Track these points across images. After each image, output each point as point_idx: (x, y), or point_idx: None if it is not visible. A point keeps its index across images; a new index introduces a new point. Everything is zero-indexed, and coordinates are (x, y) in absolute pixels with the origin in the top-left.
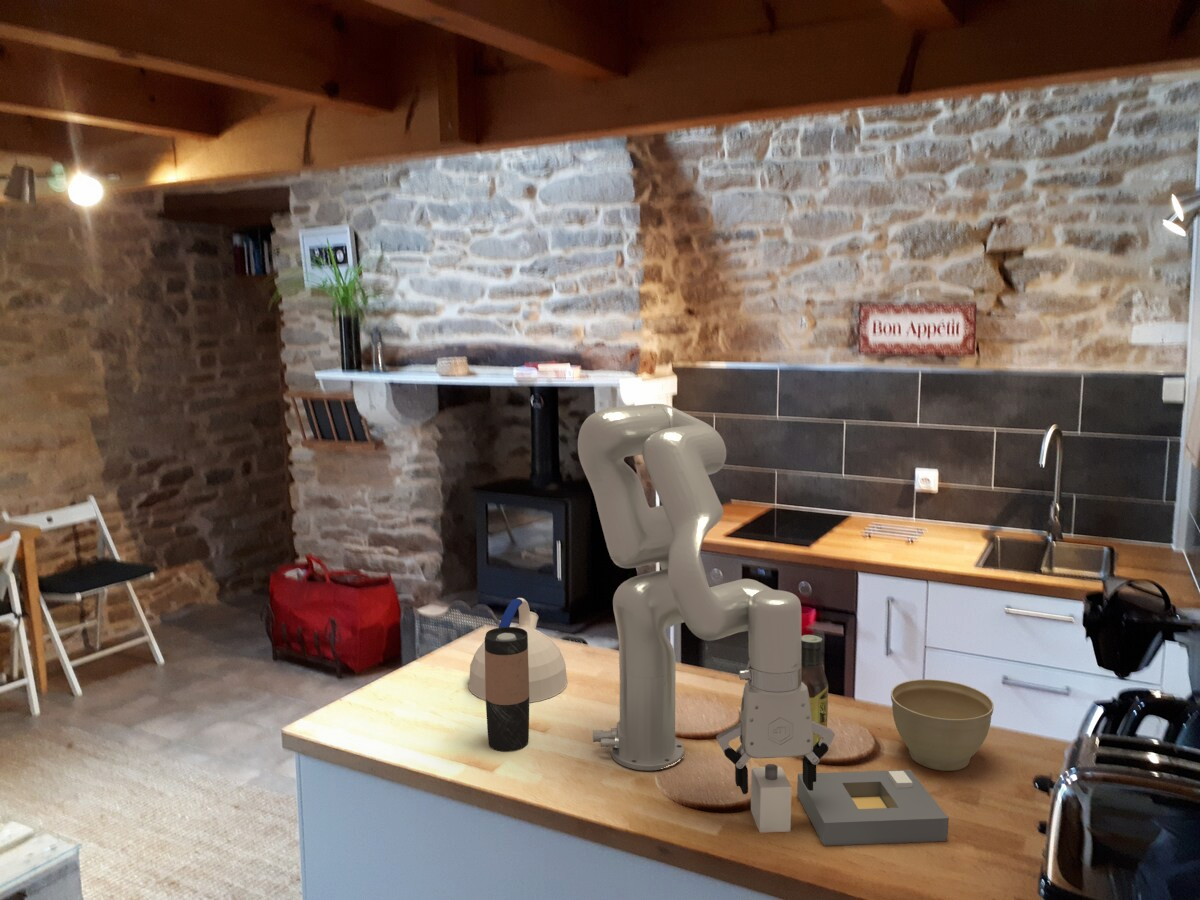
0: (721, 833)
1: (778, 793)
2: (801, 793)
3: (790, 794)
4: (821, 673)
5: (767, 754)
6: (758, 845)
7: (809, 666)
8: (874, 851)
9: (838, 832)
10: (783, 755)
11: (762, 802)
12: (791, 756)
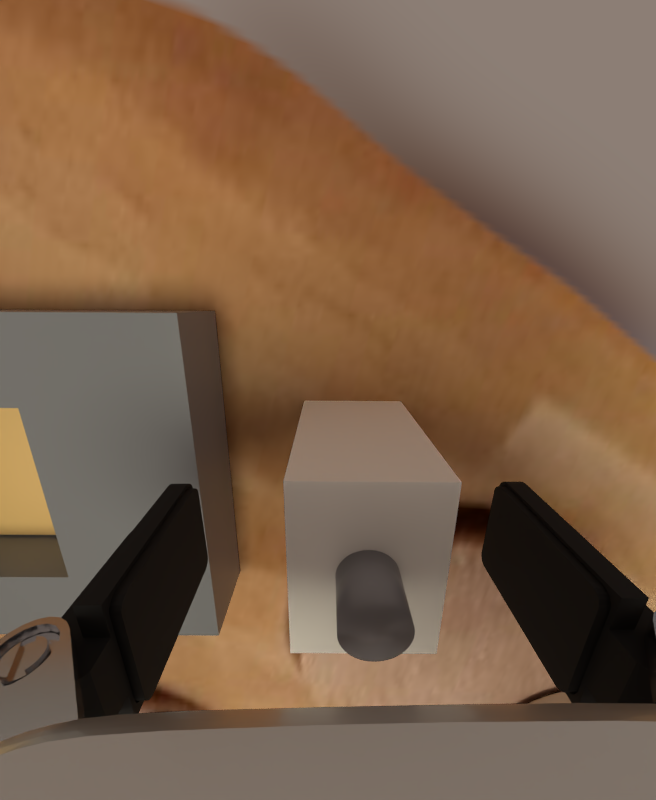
0: (521, 404)
1: (355, 463)
2: (227, 558)
3: (293, 458)
4: None
5: (629, 781)
6: (428, 330)
7: None
8: (48, 264)
9: (140, 311)
10: (354, 742)
11: (423, 444)
12: (235, 715)
